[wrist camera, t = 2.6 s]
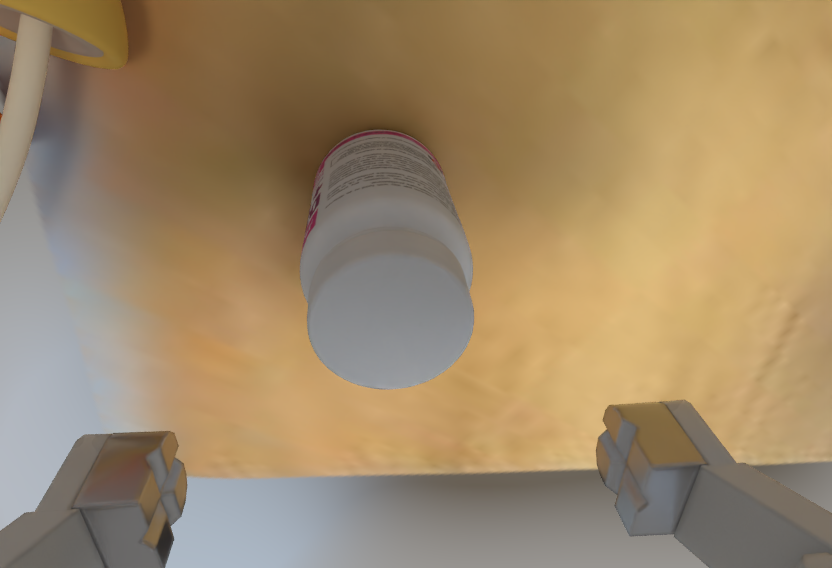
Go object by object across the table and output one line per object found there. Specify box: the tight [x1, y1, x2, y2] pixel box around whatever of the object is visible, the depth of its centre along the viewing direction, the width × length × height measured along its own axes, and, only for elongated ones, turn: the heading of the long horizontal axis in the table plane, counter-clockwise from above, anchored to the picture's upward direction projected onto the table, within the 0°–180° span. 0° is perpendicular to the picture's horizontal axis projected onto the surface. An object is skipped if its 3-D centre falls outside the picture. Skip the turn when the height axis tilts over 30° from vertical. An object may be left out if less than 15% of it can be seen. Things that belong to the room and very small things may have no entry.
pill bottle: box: [300, 130, 474, 389], centre depth 17 cm, size 5×5×8 cm
